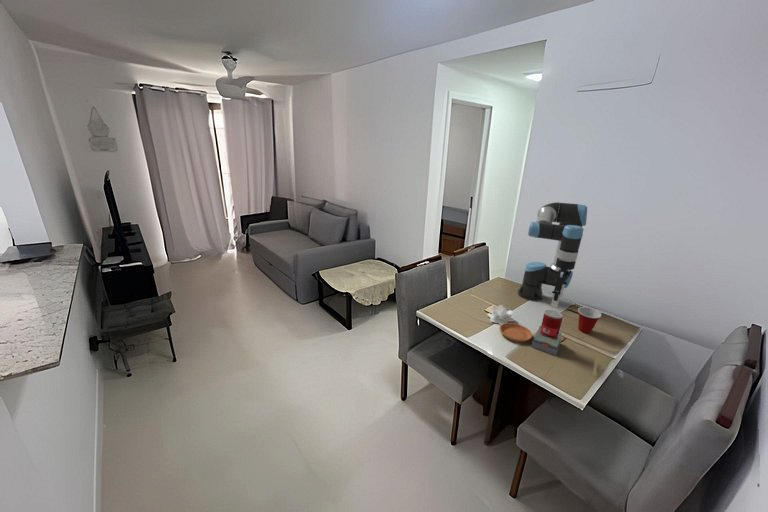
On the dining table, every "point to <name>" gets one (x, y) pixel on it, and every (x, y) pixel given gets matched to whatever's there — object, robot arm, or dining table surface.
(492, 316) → the lotus flower
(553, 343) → the stand
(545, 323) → the canned food
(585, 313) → the plastic cup
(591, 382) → the dining table surface
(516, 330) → the saucer
